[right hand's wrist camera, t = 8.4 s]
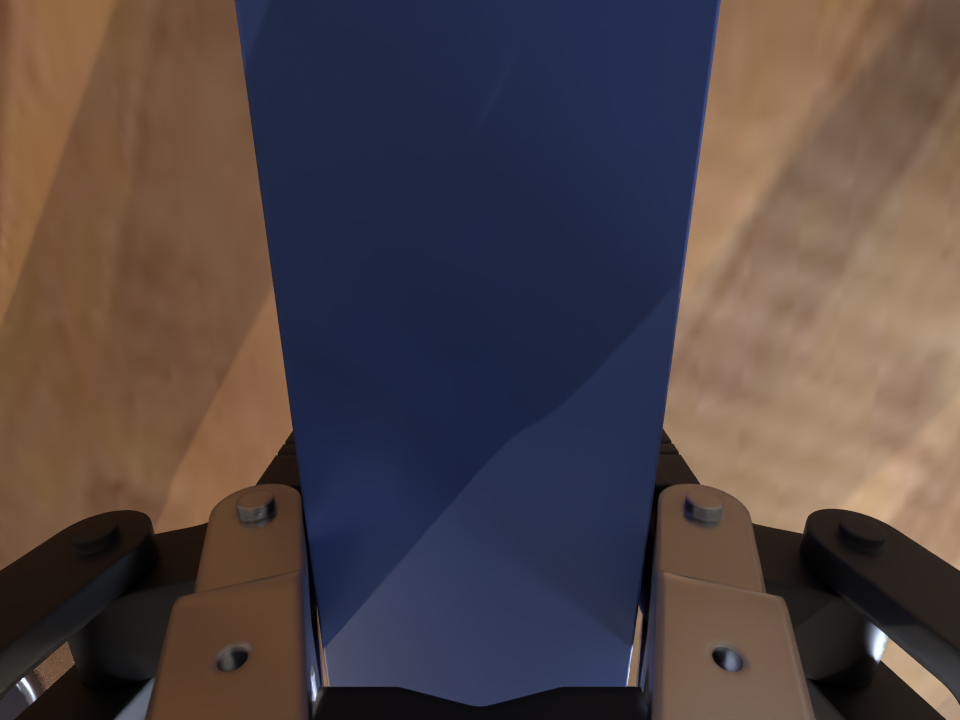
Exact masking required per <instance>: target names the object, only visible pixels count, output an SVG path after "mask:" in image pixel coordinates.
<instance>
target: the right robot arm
mask: <svg viewBox="0 0 960 720" xmlns="http://www.w3.org/2000/svg"><path fill="white" fill-rule="evenodd" d="M639 606H640V609H641V612H642V621H641V629H640V643H639V656H638V669H637V683H636V687H559V688H555V689H551V690H547V691H543V692H539V693H535V694H531V695H527V696H524V697H520V698H516V699H512V700H508V701H504V702H500V703H496V704H492V705H488V706H472V705H468V704H464V703H460V702H456V701H452V700H448V699H444V698H440V697H436V696H433V695H429V694H425V693H421V692H417V691H413V690H409V689H405V688H401V687H324V682H323V669H322V656H321V642H320V629H319V621H318V614H317V603H316V595H315V588H314V581H313V573H312V566H311V558H310V551H309V544H308V536H307V529H306V522H305V514H304V507H303V499H302V492H301V485H300V477H299V470H298V463H297V455H296V448H295V440H294V433H293V431H292V433H291V434H290V436H289V437H288V439H287V440H286V442H285V444H284V445H283V446H282V447H281V449H280V450H279V452H278V455H276V456H275V458H274V459H273V461H272V462H271V463H270V465H269V466H268V468H267V469H266V471H265V472H264V474H263V475H262V477H261V478H260V480H259V481H258V482H257V484H256V485H255V486H251V487H248V488H244V489H242V490H239V491H237V492H235V493H233V494H231V495H229V496H227V497H226V498H224V499H223V500H222V501H220V502H219V503H218V504H217V505H216V506H215V507H214V509H213V510H212V512H211V514H210V517H209V522H208V523H205V524H202V525H198V526H194V527H189V528H184V529H179V530H174V531H169V532H164V533H159V534H154V530H153V526H152V522H151V520H150V518H149V517H148V516H147V515H146V514H144V513H142V512H138V511H132V510H121V511H112V512H107V513H103V514H99V515H95V516H92V517H89V518H87V519H84V520H82V521H79V522H77V523H75V524H73V525H71V526H69V527H67V528H66V529H64V530H62V531H61V532H59V533H58V534H56V535H55V536H53V537H52V538H50V539H48V540H47V541H45V542H44V543H42V544H41V545H39V546H38V547H36V548H35V549H33V550H32V551H30V552H29V553H27V554H25V555H24V556H22V557H21V558H19V559H18V560H16V561H15V562H13V563H12V564H10V565H9V566H7V567H6V568H4V569H2V570H1V571H0V720H144V719H145V720H815V719H816V720H946V719H945V718H944V717H943V716H941V715H940V714H939V713H938V712H937V711H936V710H935V709H934V708H933V707H932V706H930V705H929V704H928V703H927V702H926V701H925V700H924V699H923V698H922V697H921V696H919V695H918V694H917V693H916V692H915V691H914V690H913V689H912V688H911V687H910V686H908V685H907V684H906V683H905V682H904V681H903V680H902V679H901V678H900V677H898V676H897V675H896V674H895V673H894V672H893V671H892V670H891V669H890V668H889V667H887V666H886V665H885V664H884V663H883V662H882V661H881V660H880V659H881V656H882V653H883V651H884V648H885V645H886V642H887V639H888V637H889V638H890V639H891V640H892V641H894V642H895V643H896V644H897V645H898V646H900V647H901V648H902V649H903V650H904V651H905V652H907V653H908V654H909V655H910V656H911V657H912V658H914V659H915V660H916V661H917V662H918V663H919V664H921V665H922V666H923V667H924V668H925V669H927V670H928V671H929V672H930V673H931V674H932V675H934V676H935V677H936V678H937V679H938V680H939V681H941V682H942V683H943V684H944V685H945V686H946V687H947V688H948V689H949V690H950V692H951V693H952V694H953V695H954V697H955V698H956V699H957V701H958V703H959V705H960V571H959V570H958V569H956V568H954V567H953V566H951V565H950V564H948V563H947V562H945V561H944V560H942V559H941V558H939V557H938V556H936V555H935V554H933V553H931V552H930V551H928V550H927V549H925V548H924V547H922V546H921V545H919V544H918V543H916V542H915V541H913V540H912V539H910V538H908V537H907V536H905V535H904V534H902V533H901V532H899V531H898V530H896V529H894V528H893V527H891V526H889V525H888V524H886V523H884V522H882V521H880V520H877V519H875V518H872V517H870V516H867V515H864V514H861V513H857V512H853V511H848V510H841V509H823V510H818V511H815V512H813V513H811V514H810V515H809V516H808V518H807V521H806V524H805V528H804V532H803V534H801V533H796V532H791V531H785V530H780V529H775V528H770V527H765V526H761V525H757V524H753V523H752V521H751V517H750V514H749V512H748V510H747V508H746V507H745V506H744V505H743V504H742V503H741V502H740V501H739V500H737V499H736V498H734V497H733V496H731V495H729V494H727V493H725V492H723V491H721V490H718V489H716V488H712V487H709V486H704V485H701V484H700V483H699V481H698V480H697V479H696V477H695V476H694V474H693V473H692V471H691V470H690V468H689V467H688V465H687V464H686V462H685V461H684V459H683V458H682V456H681V455H679V452H678V450H677V449H676V447H675V446H674V444H671V440H670V438H669V437H668V435H667V434H666V433H665V431H664V430H663V428H662V436H661V443H660V450H659V458H658V465H657V472H656V480H655V487H654V495H653V502H652V509H651V517H650V524H649V531H648V539H647V546H646V553H645V561H644V568H643V576H642V583H641V590H640V598H639ZM66 641H67V642H68V644H69V647H70V650H71V653H72V656H73V658H74V661H75V665H74V666H73V667H71V668H70V669H69V670H68V671H67V672H66V673H65V674H64V675H63V676H61V677H60V678H59V679H58V680H57V681H56V682H55V683H54V684H53V685H52V686H50V687H49V688H48V689H47V690H46V691H45V692H44V693H43V691H42V688H41V685H40V683H39V681H38V679H37V678H36V676H35V675H34V673H33V672H32V670H33V669H35V668H36V667H37V666H38V665H39V664H41V663H42V662H43V661H44V660H45V659H46V658H48V657H49V656H50V655H51V654H52V653H53V652H55V651H56V650H57V649H58V648H59V647H60V646H62V645H63V644H64V643H65V642H66Z"/></svg>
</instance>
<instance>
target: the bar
mask: <svg viewBox="0 0 960 720" xmlns="http://www.w3.org/2000/svg"><path fill="white" fill-rule="evenodd" d="M720 1H721V0H235V5H236V13H237V20H238V28H239V35H240V42H241V50H242V57H243V64H244V72H245V79H246V87H247V94H248V101H249V109H250V116H251V123H252V131H253V138H254V146H255V153H256V160H257V168H258V175H259V182H260V190H261V197H262V205H263V212H264V219H265V227H266V234H267V241H268V249H269V256H270V263H271V271H272V278H273V286H274V293H275V300H276V308H277V315H278V322H279V330H280V337H281V345H282V352H283V359H284V367H285V374H286V381H287V389H288V396H289V404H290V411H291V418H292V426H293V433H294V440H295V448H296V455H297V463H298V470H299V477H300V485H301V492H302V499H303V507H304V514H305V522H306V529H307V536H308V544H309V551H310V558H311V566H312V573H313V581H314V588H315V595H316V603H317V610H318V617H319V625H320V632H321V639H322V647H323V654H324V662H325V669H326V676H327V684H328V687H401V688H405V689H409V690H413V691H417V692H421V693H425V694H429V695H433V696H436V697H440V698H444V699H448V700H452V701H456V702H460V703H464V704H468V705H472V706H488V705H492V704H496V703H500V702H504V701H508V700H512V699H516V698H520V697H524V696H527V695H531V694H535V693H539V692H543V691H547V690H551V689H555V688H559V687H627V686H628V679H629V671H630V664H631V657H632V649H633V642H634V634H635V627H636V620H637V612H638V605H639V598H640V590H641V583H642V576H643V568H644V561H645V553H646V546H647V539H648V531H649V524H650V517H651V509H652V502H653V495H654V487H655V480H656V472H657V465H658V458H659V450H660V443H661V436H662V428H663V421H664V413H665V406H666V399H667V391H668V384H669V377H670V369H671V362H672V355H673V347H674V340H675V332H676V325H677V318H678V310H679V303H680V296H681V288H682V281H683V274H684V266H685V259H686V251H687V244H688V237H689V229H690V222H691V215H692V207H693V200H694V192H695V185H696V178H697V170H698V163H699V156H700V148H701V141H702V134H703V126H704V119H705V111H706V104H707V97H708V89H709V82H710V75H711V67H712V60H713V52H714V45H715V38H716V30H717V23H718V16H719V8H720Z"/></svg>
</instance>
